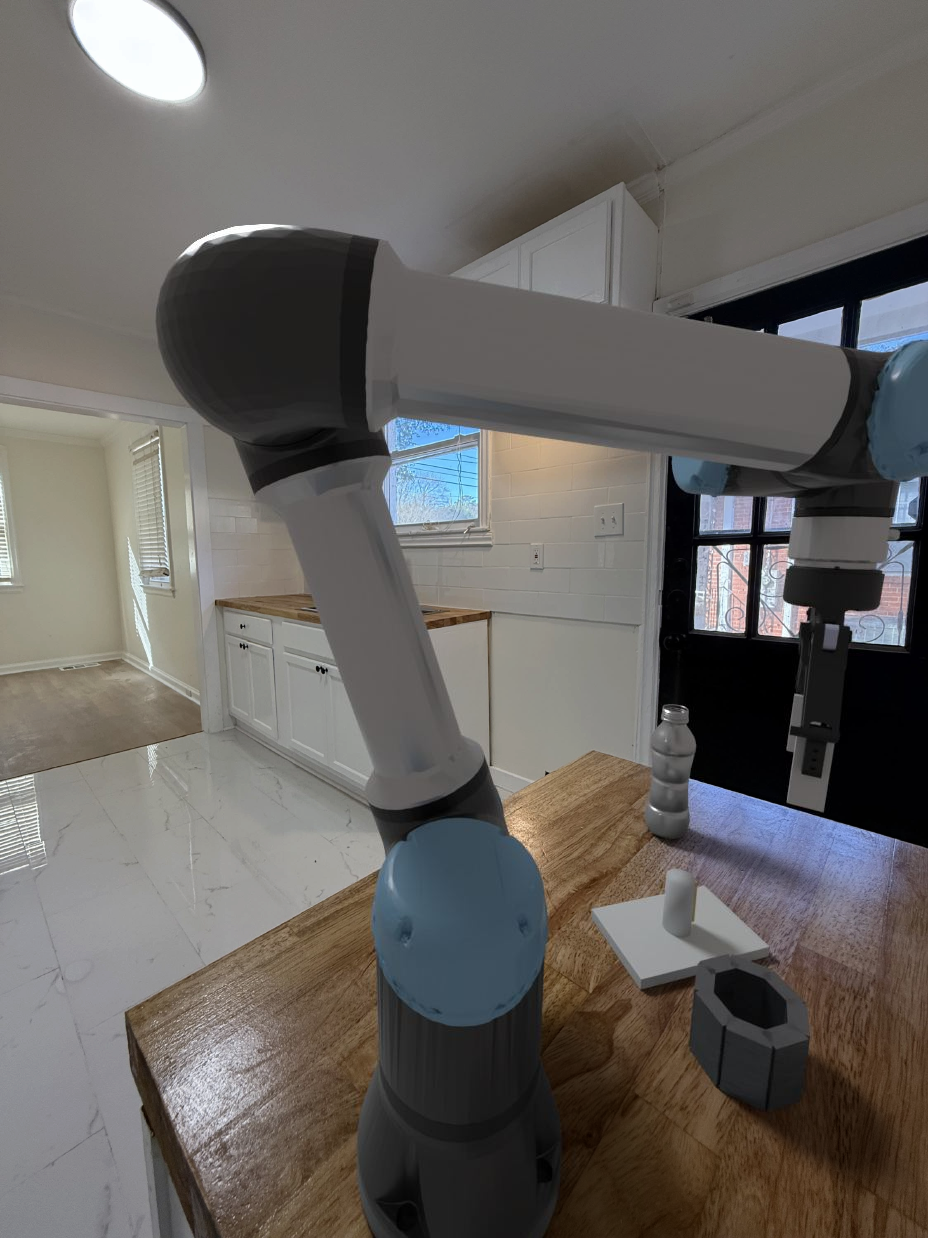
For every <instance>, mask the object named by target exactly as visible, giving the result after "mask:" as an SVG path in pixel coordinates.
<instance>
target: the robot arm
mask: <svg viewBox="0 0 928 1238" xmlns="http://www.w3.org/2000/svg"><path fill="white" fill-rule="evenodd" d="M154 321H155V328H156V338H157V344H158V345H157V346H158V348H159V352H160V355H161V358H162V361H163V362H162V363H163V364H164V367H165V370H166V371H167V374H168V375H169V377H170V379H171V381H172V382H173V385H174V386H175V389H177V391H178V393H180V395H181V396H182V397H183V399H184V400H185V401H186V403H187V404H188V405H189V406H190V407H191V408H192V410H194V412H196V413H197V414H198V415H199V416H200V417H201V418H202V419H204V420H205V421H206V422H207V423H209V425H211V426H212V427H215V428H216V429H218V430H219V431H221V432H223V433H224V434H226V435H228V436H230V437H231V438H232V440H233V442H234V445H235V448H236V451H237V453H238V456H239V459H240V461H241V464H242V466H243V469H244V472H245V474H246V477H247V480H248V482H249V485H250V488H251V490H252V493H253V495H254V498H255V501H256V502H258V503H260V504H262V505H264V506H266V507H267V508H269V509H271V510H274V512H277V513H278V514H279V515H281V517H282V518H283V521H284V524H285V527H286V529H287V532H288V536H289V538H290V540H291V544H292V546H293V549H294V551H295V553H296V556H297V560H298V562H299V565H300V568H301V570H302V574H303V576H304V579H305V582H306V584H307V587H308V589H309V593H310V595H311V599H312V601H313V604H314V607H315V609H316V612H317V615H318V618H319V620H320V623H321V626H322V628H323V631H324V634H325V636H326V641H327V642H328V644H329V647H330V650H331V654H332V655H333V658H334V662H335V664H336V666H337V670H338V672H339V675H340V676H339V677H340V678H341V681H342V684H343V687H344V689H345V693H346V695H347V697H348V700H349V703H350V705H351V708H352V711H353V714H354V717H355V720H356V722H357V725H358V728H359V730H360V733H361V737H362V739H363V742H364V743H365V744H364V745H365V747H366V750H367V753H368V755H369V758H370V760H371V763H372V766H373V770H372V772H371V774H370V776H369V777H368V780H367V782H366V783H365V787H364V793H365V798H366V801H367V802H368V805H369V809H370V811H371V814H372V816H373V819H374V822H375V825H376V828H377V830H378V833H379V836H380V839H381V841H382V844H383V849H384V856H385V859H384V861H383V863H382V864H381V868H380V869H379V872H378V876H377V879H376V886H375V892H374V896H373V900H372V901H373V902H372V908H371V909H372V910H371V932H372V937H373V941H374V948H375V949H374V950H375V955H376V956H375V961H376V997H377V998H376V999H377V1000H376V1001H377V1003H376V1004H377V1039H378V1040H377V1042H378V1043H377V1045H378V1047H377V1048H378V1049H377V1050H378V1060H377V1063H376V1066H375V1067H374V1071H373V1074H372V1076H371V1079H370V1081H369V1085H368V1088H367V1090H366V1093H365V1096H364V1099H363V1103H362V1105H361V1110H360V1114H359V1117H358V1118H359V1119H358V1125H357V1133H356V1167H357V1168H356V1169H357V1184H358V1192H359V1197H360V1200H361V1206H362V1209H363V1212H364V1215H365V1218H366V1220H367V1223H368V1225H369V1227H370V1229H371V1232H372V1234H373V1236H374V1238H543V1237H544V1235H545V1234H546V1231H547V1229H548V1227H549V1225H550V1223H551V1220H552V1218H553V1214H554V1212H555V1209H556V1205H557V1202H558V1201H557V1200H558V1198H559V1197H558V1196H559V1193H560V1188H561V1176H562V1175H561V1174H562V1155H563V1139H562V1137H563V1136H562V1128H561V1120H560V1115H559V1114H560V1113H559V1110H558V1107H557V1106H558V1104H557V1103H556V1099H555V1096H554V1093H553V1090H552V1087H551V1085H550V1082H549V1079H548V1076H547V1073H546V1070H545V1067H544V1064H543V1061H542V1058H541V1052H542V1051H541V1050H542V1027H543V1007H544V1006H543V1001H544V976H545V955H546V953H547V951H546V949H547V946H546V945H547V944H548V938H549V928H548V926H549V925H548V924H549V923H548V920H549V915H548V906H547V902H546V901H547V900H546V896H545V895H546V894H545V887H544V882H543V878H542V875H541V871H540V869H539V867H538V865H537V863H536V860H535V859H534V857H533V855H532V854H531V853H530V851H529V850H528V849H527V847H526V846H525V845H524V844H523V843H522V842H521V841H520V840H519V839H518V838H517V837H515V836H514V835H511V834H510V831H509V828H508V824H507V822H506V818H505V812H504V808H503V807H504V806H503V803H502V802H503V801H502V798H501V796H500V793H499V790H498V788H497V786H496V785H495V783H494V781H493V777H492V773H491V771H490V767H489V764H488V762H487V758H486V756H485V753H484V752H485V751H484V749H483V748H482V746H481V745H480V743H478V741H476V740H474V739H472V738H469V737H467V736H465V735H462V732H461V729H460V725H459V722H458V720H457V717H456V714H455V710H454V707H453V705H452V700H451V699H450V696H449V692H448V689H447V685H446V682H445V680H444V677H443V674H442V671H441V667H440V663H439V660H438V658H437V655H436V652H435V649H434V646H433V643H432V640H431V636H430V634H429V630H428V628H427V624H426V620H425V617H424V614H423V612H422V608H421V606H420V605H421V604H420V602H419V599H418V595H417V593H416V590H415V587H414V583H413V579H412V577H411V574H410V570H409V567H408V565H407V561H406V558H405V555H404V552H403V549H402V546H401V542H400V541H399V537H398V534H397V531H396V527H395V524H394V521H393V518H392V515H391V514H392V513H391V511H390V509H389V506H388V505H389V504H388V502H387V500H386V497H385V494H384V490H383V485H384V481H385V479H386V477H387V475H388V472H389V470H390V469H391V467H392V464H393V460H392V456H391V452H390V450H389V446H388V443H387V440H386V436H385V434H384V430H383V428H384V427H385V426H387V425H388V424H389V423H390V422H391V421H393V420H395V419H398V418H401V419H408V420H413V421H414V420H415V421H421V422H428V423H435V424H443V425H451V426H457V427H463V428H464V427H465V428H471V429H478V430H485V431H490V432H491V431H492V432H500V433H505V434H506V433H507V434H512V435H513V434H514V435H522V436H528V437H533V438H541V439H548V440H556V441H563V442H570V443H571V442H572V443H577V444H583V445H591V446H598V447H604V448H610V449H611V448H612V449H618V450H619V449H620V450H625V451H631V452H632V451H633V452H641V453H646V454H654V455H655V454H656V455H662V456H668V457H671V459H672V460H671V465H672V466H671V467H672V468H671V470H672V473H673V477H674V480H675V483H676V484H677V486H678V487H679V488H680V489H681V491H682V490H683V491H684V492H685V493H689V494H692V495H693V494H695V495H703V496H704V495H705V496H711V497H712V498H717V497H747V498H748V497H750V498H751V497H752V498H754V497H755V498H757V497H758V498H760V497H761V498H785V499H794V510H793V517H792V518H791V519H792V521H791V527H790V535H789V543H788V550H787V558H788V559H789V560H793V565H788V568H786V570H785V577H784V585H783V592H782V600H783V601H784V603H786V604H789V605H791V606H795V607H802V608H807V610H806V613H805V615H806V617H807V618H806V621H800V622H799V629H798V636H797V637H798V643H799V644H798V651H797V653H798V656H799V664H798V668H797V669H798V670H797V674H796V675H795V679H794V680H795V685H794V689H795V692H796V693H794V696H793V703H792V710H791V717H790V722H789V723H790V724H789V730H788V737H787V745H786V751H787V752H790V753H793V757H792V764H791V769H790V778H789V785H788V790H787V791H788V792H787V796H786V797H787V798H786V799H787V800H786V803H787V804H790V805H793V806H798V807H802V808H805V809H809V810H813V811H816V812H817V811H818V812H821V813H825V812H824V811H825V804H826V799H827V792H828V788H829V787H828V785H829V779H830V774H831V769H832V768H831V767H832V763H833V755H834V749H835V744H837V743H839V741H840V739H841V732H840V723H841V713H842V704H843V693H844V685H845V684H844V683H845V675H846V673H845V672H846V669H847V666H848V657H849V656H848V655H849V649H850V647H851V644H852V641H853V630H851V627H850V626H851V625H845V619H846V612H848V611H852V612H872V611H875V610H877V609H878V608H879V607H880V605H881V600H882V595H883V593H882V592H883V587H884V582H885V575H886V574H885V573H884V572H883V570H881V569H877V568H878V567H877V566H878V564H883V563H885V562H886V561H887V560H888V554H889V548H890V543H889V542H888V541H897V540H899V539H900V535H901V532H900V530H899V529H895V528H893V529H891V526H893V521H894V517H895V512H896V507H897V500H898V495H899V490H900V485H901V483H907V482H911V481H913V480H915V479H916V478H923V477H928V338H927V339H918V340H911V341H909V342H907V343H904V344H903V345H901V346H899V347H898V348H896V349H895V350H890V351H885V352H883V351H882V352H881V351H878V352H877V351H873V350H872V351H871V350H865V349H858V348H852V347H845V346H841V345H840V346H839V345H833V344H829V343H824V342H817V341H812V340H807V339H800V338H795V337H791V336H786V335H785V336H783V335H778V334H774V333H768V332H767V333H766V332H762V331H756V330H752V329H746V328H741V327H736V326H735V327H734V326H731V325H723V324H717V323H713V322H706V321H701V320H696V319H690V318H685V317H679V316H674V315H669V314H663V313H657V312H651V311H647V310H640V309H636V308H635V309H634V308H630V307H624V306H618V305H614V304H607V303H602V302H598V301H597V302H596V301H591V300H585V299H580V298H574V297H570V296H569V297H567V296H564V295H558V294H553V293H545V292H541V291H536V290H529V289H524V288H519V287H515V286H508V285H502V284H497V283H491V282H486V281H480V280H474V279H471V278H465V277H460V276H459V277H458V276H454V275H453V276H452V275H447V274H442V273H437V272H431V271H426V270H421V269H414V268H410V267H409V266H407V265H406V264H404V263H403V261H402V259H401V258H400V257H399V255H398V253H397V252H396V251H395V249H394V248H393V247H392V245H391V244H390V242H389V241H388V240H385V239H380V238H375V237H368V236H363V235H359V234H352V233H347V232H342V231H338V230H334V229H333V230H332V229H324V228H317V227H310V226H309V227H308V226H302V225H301V226H300V225H292V224H255V225H254V224H253V225H241V226H240V225H239V226H233V227H229V228H227V229H224V230H220V231H217V232H214V233H210V234H209V235H207V236H205V237H203V238H201V239H198V240H197V241H194V243H192V244H191V245H190V246H189V247H188V248H187V249H186V250H184V251H183V252H182V253H181V254H180V255H179V256H178V258H176V260H175V261H174V262H173V264H172V265H171V267H170V268H169V269H168V271H167V273H166V275H165V278H164V280H163V282H162V284H161V287H160V289H159V294H158V299H157V304H156V308H155V320H154ZM822 724H825V725H822Z"/></svg>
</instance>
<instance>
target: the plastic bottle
mask: <svg viewBox="0 0 928 1238" xmlns="http://www.w3.org/2000/svg"><path fill="white" fill-rule="evenodd" d="M660 716H661V717H660V719H661V721H662V722H661V723H660V724H659V725H658V726H657V727H656V728H655V729H654V731H653V732H652V734H651V736H650V753H651V782H650V788H649V793H648V799H647V801H646V804H645V809H644V818H645V819H644V820H645V824H646V826H647V827H648V829H649V831H650V832H651V833H652V834H653V835H655V836H657V837H660V838H664V839H669V840H676V839H680V838H682V837H683V836H684V835H686V833H687V832H688V830H689V827H690V822H691V821H690V820H691V818H690V808H689V785H690V784H689V783H690V776H691V768H692V765H693V761H694V758H695V753H696V749H697V744H696V739H695V736H694V735H693V733H692V731H691V730H690V728H689V727H688V725H687V724H688V723H689V721H690V720H689V719H690V718H689V709H688V708H687V707H686V706H684V705H681V704H680V705H679V704H673V703H672V704H669V703H668V704H664V705H663V706H662V712H661V715H660Z"/></svg>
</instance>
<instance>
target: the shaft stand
mask: <svg viewBox="0 0 928 1238" xmlns="http://www.w3.org/2000/svg"><path fill="white" fill-rule="evenodd" d="M698 883H699V882H698V881H697V880H696V879H695V876H694V875H692V874H691V873H690V872H689V871H686V870H684V869H679V868H671V869H668V870H667V871H666V874H665V885H664V886H665V887H664V888H665V889H664V893H661V894H657V895H652V896H647V897H643V898H642V897H641V898H638V899H633V900H627V901H623V902H618V903H614V904H609V905H608V904H607V905H604V906H600V907H599V906H598V907H594V908H591V911H590V912H591V913H590V915H591V916H590V918H591V920H592V922H593V923H594V925H595V926H596V928H598V930H599V932H600V933H601V934H602V936H603V937H604V939H605V940H606V942H607V944H609V946H610V947H611V949H612V950H613V952H614V953H615V955H616V956H617V958H618V959H619V961H620V962H621V964H622V965H623V967H624V968H625V969H626V971H627V972H628V974H629V976H630V977H631V978H632V980H633V981H634V983H635V985H637V987H638V988H639V990H644V989H647V988H653V987H655V986H656V987H657V986H660V985H664V984H667V983H671V982H675V981H678V980H683V979H688V978H691V977H694V976H695V977H696V974H697V967H698V963H700V961H702V960H706V959H710V958H714V957H718V956H722V955H726V954H729V955H730V956H731V954H732V955H735V956H737V957H740V958H743V959H746V960H748V961H751V962H754V961H756V960H760V959H763V958H767V957H769V954H770V945H768V943H766V941H764V940H763V939H762V938H761V937H760V936H759V935H758V934H757V933H756V932H754V931H753V930H752V929H751V928H750V926H748V925H747V924H746V923H745V922H744V921H743V920H741V918H740V917H738V916H737V915H736V914H735V913H734V912H733V911H732V910H731V909H730V908H729V907H728V906H727V905H726V904H725V903H724V902H722V900H720V899H719V898H718V897H717V896H716V895H715V894H714V893H713V892H712V890H710V889H709V888H708V887H706V885H701V886H700V885H698Z"/></svg>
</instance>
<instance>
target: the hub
mask: <svg viewBox="0 0 928 1238" xmlns="http://www.w3.org/2000/svg"><path fill="white" fill-rule="evenodd" d="M694 981H695V982H694V989H693V998H692V1008H691V1010H692V1011H691V1018H690V1019H691V1020H690V1030H689V1031H690V1032H689V1040H688V1042H689V1043H688V1047H689V1050H690V1052H691V1053H692V1055H693V1057H694V1058H695V1059H696V1060H697V1062H698V1063H699V1065H700V1067H701V1068H702V1069H703V1071H704V1072H705V1073H706V1074H707V1076H708V1078H709V1079H710V1081H711V1082H712V1083H713V1085H714V1087H717V1088H718V1087H719V1091H721V1092H723V1093H725V1094H727V1095H729V1096H731V1097H733V1098H735V1099H737V1100H738V1101H741V1102H743V1103H745V1104H747V1105H749V1106H751V1107H753V1108H755V1109H758V1110H760V1111H762V1112H763V1113H765V1111H766V1112H767V1113H771V1112H774V1111H777V1110H779V1109H781V1108H784V1107H788V1106H789V1105H793V1104H795V1103H799V1102H801V1099H802V1097H803V1096H802V1095H803V1091H804V1083H805V1076H806V1069H807V1061H808V1055H809V1054H808V1053H809V1048H810V1042H811V1032H810V1031H811V1030H810V1029H811V1028H810V1022H809V1012H808V1004H806V1001H805V1000H804V999H803V998H802V997H801V996H800V995H799V994H798V993H797V991H795V990H794V989H793V988H792V987H791V986H790V985H789V984H788V983H787V982H785V980H784V979H783V978H782V977H781V976H780V975H779V974H778V973H777V972H776V971H775V970H771V968H770V967H767V966H764V965H761V964H759V963H755V962H754V961H748V960H746V959H743V958H740V957H737V956H735V955H732V954H731V956H730V955H729V954H726V955H722V956H718V957H714V958H710V959H706V960H702V961H700V963H698V967H697V974H696V975H695V980H694Z"/></svg>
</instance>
